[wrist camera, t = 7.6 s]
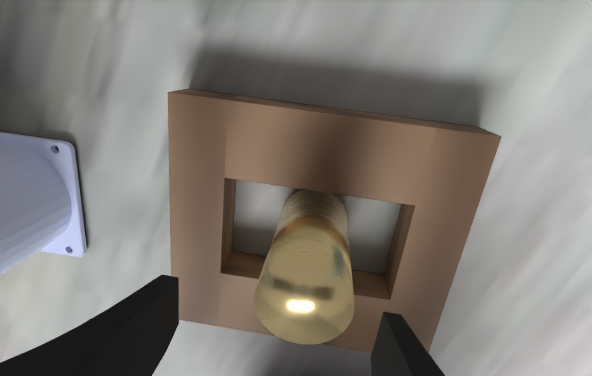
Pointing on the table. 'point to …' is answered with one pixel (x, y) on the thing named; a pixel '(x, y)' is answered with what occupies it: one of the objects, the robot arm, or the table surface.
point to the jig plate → (324, 178)
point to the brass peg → (307, 271)
